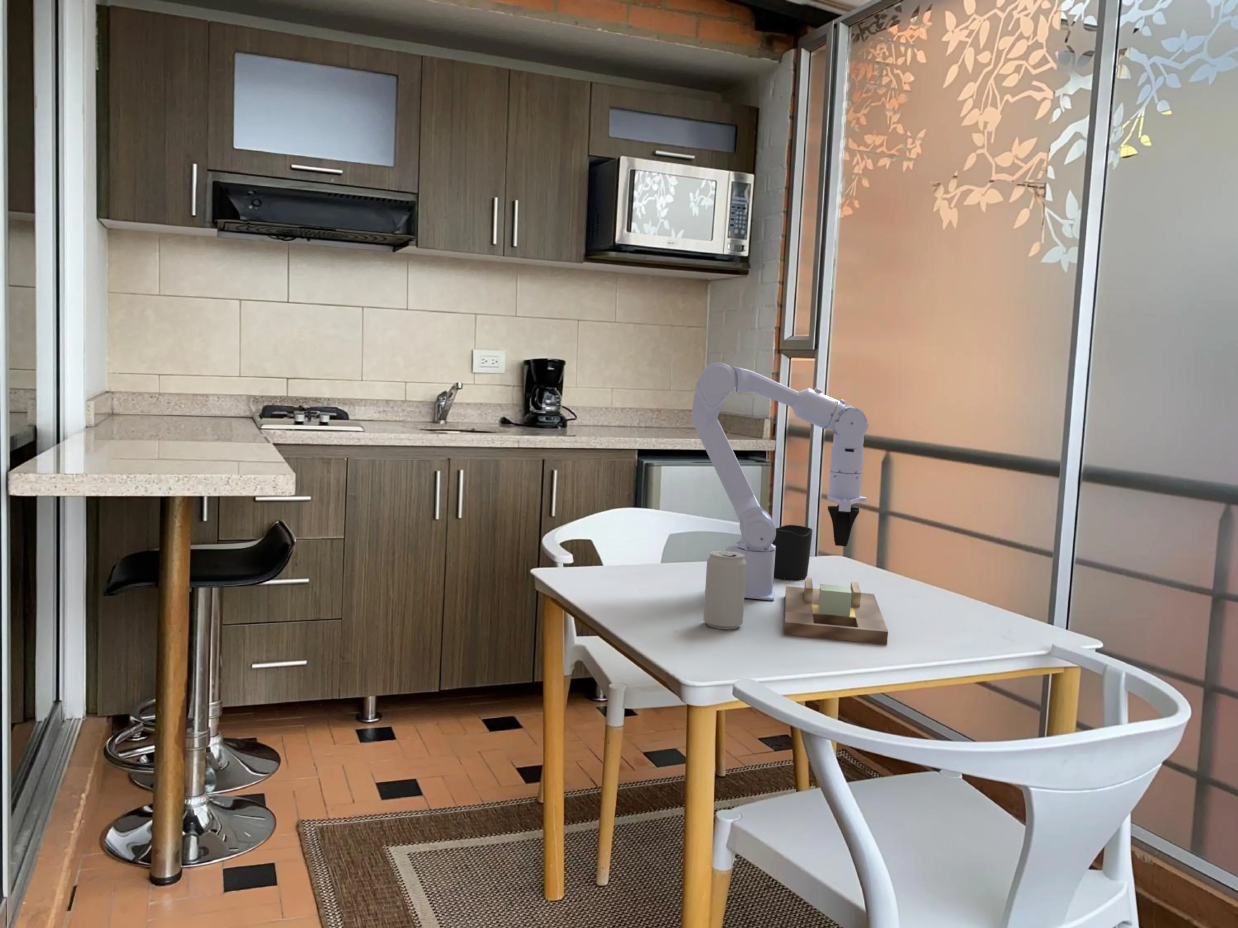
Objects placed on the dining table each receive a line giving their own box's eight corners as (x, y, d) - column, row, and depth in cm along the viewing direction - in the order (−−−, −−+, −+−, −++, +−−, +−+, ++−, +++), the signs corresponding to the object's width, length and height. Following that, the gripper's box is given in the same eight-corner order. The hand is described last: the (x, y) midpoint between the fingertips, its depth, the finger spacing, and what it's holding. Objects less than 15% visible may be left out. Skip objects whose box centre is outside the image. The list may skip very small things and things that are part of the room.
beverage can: (716, 631, 165) (721, 557, 164) (695, 621, 171) (700, 550, 169) (749, 629, 168) (755, 556, 167) (728, 619, 174) (732, 548, 172)
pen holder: (808, 582, 207) (812, 533, 206) (761, 578, 209) (764, 529, 208) (809, 573, 216) (813, 526, 216) (764, 569, 218) (767, 522, 217)
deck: (784, 634, 166) (786, 606, 165) (785, 596, 193) (787, 572, 193) (887, 644, 163) (889, 616, 163) (873, 604, 191) (875, 580, 190)
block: (819, 613, 172) (820, 590, 172) (818, 606, 177) (820, 583, 177) (849, 616, 172) (851, 592, 171) (848, 609, 177) (849, 586, 176)
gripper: (870, 477, 182) (864, 553, 183) (866, 469, 196) (861, 540, 197) (829, 474, 183) (824, 550, 184) (828, 467, 197) (823, 537, 199)
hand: (840, 545), depth 191 cm, fingers closed
